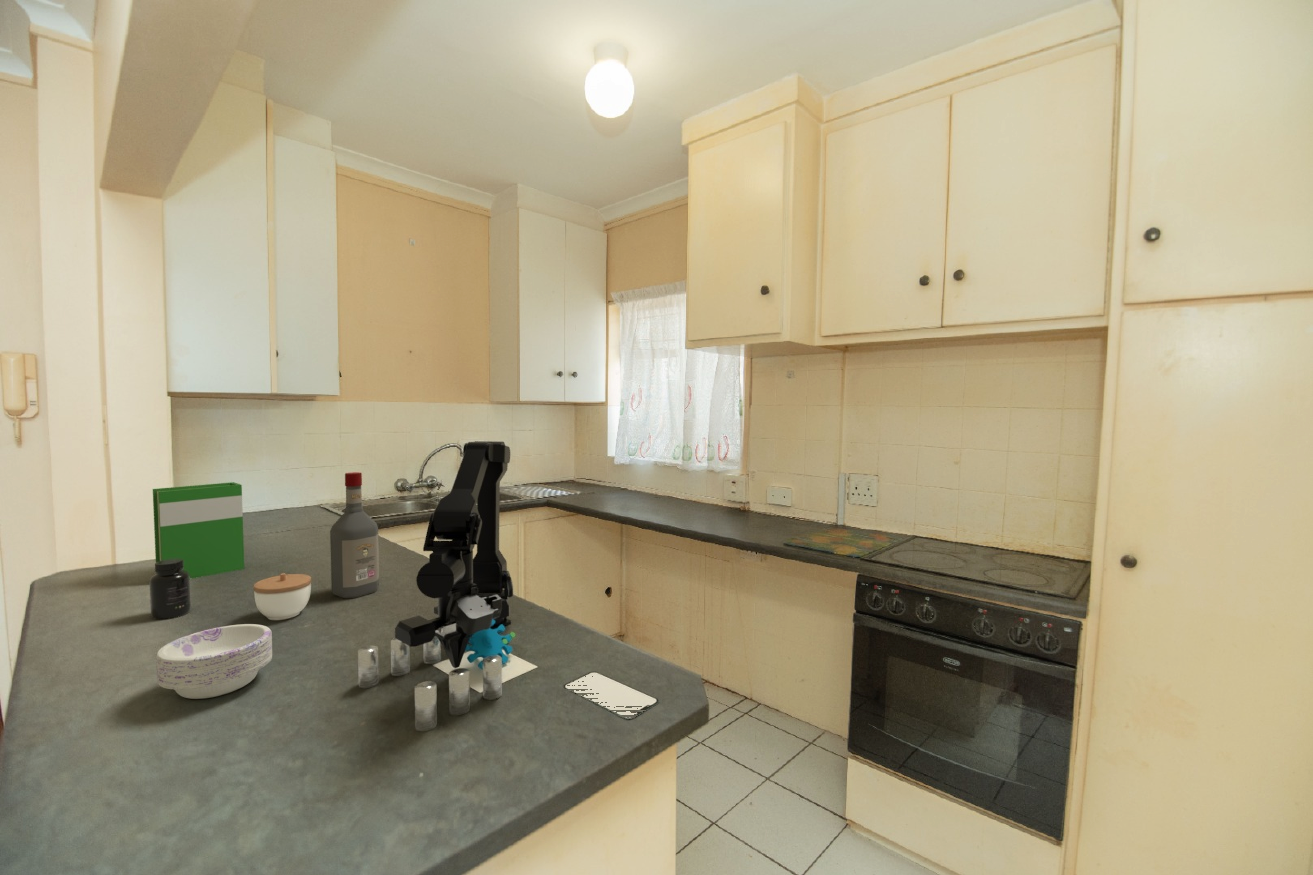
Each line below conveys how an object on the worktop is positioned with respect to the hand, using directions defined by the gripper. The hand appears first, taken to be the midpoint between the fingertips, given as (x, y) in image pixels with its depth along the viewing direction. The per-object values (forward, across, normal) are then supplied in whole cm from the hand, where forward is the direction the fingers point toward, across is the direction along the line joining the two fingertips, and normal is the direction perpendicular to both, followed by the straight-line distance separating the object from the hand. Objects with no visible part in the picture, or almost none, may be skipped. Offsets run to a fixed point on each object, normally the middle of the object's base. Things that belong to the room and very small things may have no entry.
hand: (455, 666), depth 97 cm
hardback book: (+2, -13, +106) cm, 107 cm away
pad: (+2, +6, 0) cm, 6 cm away
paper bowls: (+2, -27, +28) cm, 39 cm away
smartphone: (+3, +14, -24) cm, 28 cm away
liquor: (+2, +8, +59) cm, 60 cm away
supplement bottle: (+2, -25, +74) cm, 78 cm away
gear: (+2, +7, +1) cm, 8 cm away
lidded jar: (+2, -9, +55) cm, 56 cm away
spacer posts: (+2, -5, 0) cm, 5 cm away
